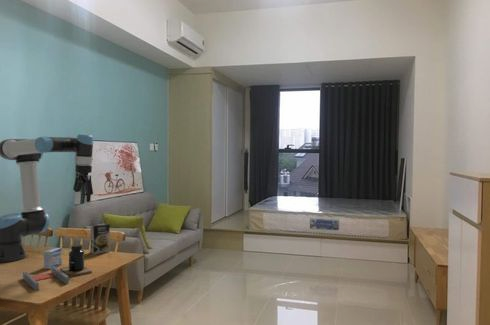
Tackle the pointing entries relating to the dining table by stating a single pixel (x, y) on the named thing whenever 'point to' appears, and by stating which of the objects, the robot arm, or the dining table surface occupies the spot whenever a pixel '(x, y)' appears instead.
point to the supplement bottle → (76, 258)
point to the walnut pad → (72, 274)
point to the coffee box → (100, 238)
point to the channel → (55, 271)
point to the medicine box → (52, 258)
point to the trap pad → (43, 276)
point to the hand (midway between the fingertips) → (82, 206)
